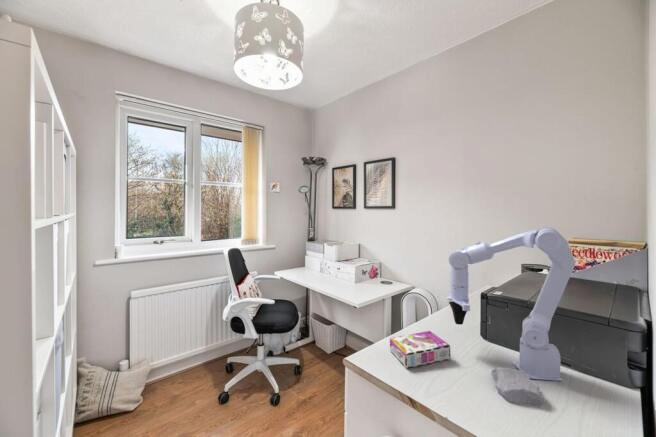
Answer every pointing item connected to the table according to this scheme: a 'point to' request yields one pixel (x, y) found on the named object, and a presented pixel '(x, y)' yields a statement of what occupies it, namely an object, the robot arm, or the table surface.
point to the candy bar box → (419, 349)
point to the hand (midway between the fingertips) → (458, 323)
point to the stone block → (516, 386)
